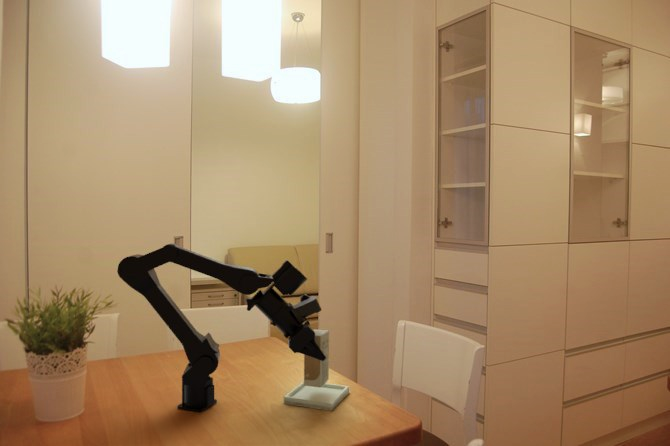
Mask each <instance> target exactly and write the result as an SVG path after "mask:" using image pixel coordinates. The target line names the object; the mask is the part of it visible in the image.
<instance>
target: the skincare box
mask: <svg viewBox="0 0 670 446" xmlns="http://www.w3.org/2000/svg"><path fill="white" fill-rule="evenodd" d="M312 329H313V328H312ZM313 330H314V332H315V342H316V343H317V345H318V346H319V348H320V349H321V351H322V352H323V354H324V355H325V357H326V359H325V360H324V361H321V360H319V359H316V358H313V357H310V356H307V355H304V354H303V357H304V359H303V366H304V367H303V368H304V369H303V370H304V371H303V381H304V386H312V387H319V388H320V387H322V386H323V385H324V384H325V383H328V380H329V379H330V377H329V375H330V374H329V373H330V372H329V371H330V367H329V365H330V364H329V363H330V360H329V358H330V331H329V330H326V329H325V330H324V329H313Z"/></svg>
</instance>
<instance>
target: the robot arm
mask: <svg viewBox="0 0 670 446" xmlns="http://www.w3.org/2000/svg"><path fill="white" fill-rule="evenodd" d="M168 263H173V264H175V265H177V266H181V267H184V268H186V269H190V270H192V271H194V272H197V273H200V274H203V275H205V276H207V277H208V276H209V277H210V278H214V279H216V280H219V281H220V282H222V283H223V284H225V285H227V286H228V287H230V288H231V289H233V290H234V291H236V292H238V293H239V294H242V295H244V296H250V295H252V294H254V295H253V296H252V297H246V299H245V300H246V303H247V304H246V306H247V307H246V310H247V311H249V312H250V311H251V310H252V309H253V308H254V307H256V308H257V309H258V310H259V311H260V312H261V313H262V314H263V315H264V316H265V317H266V318H267V319H268V320H269V321H270V322H271V325H272V326H274V327H276V328H277V329H278V330H279V331H280V332H281V333H282V335H283V336H284V338H285V339H287V345H288V348H289V349H290V351H292V352H293V353H294V354H298V353H299V354H301V355H303V356H304V355H307V356H310V357H313V358H316V359H319V360H321V361H324V360H325V359H326V357H325V355H324V354H323V352H322V351H321V349H320V348H319V346H318V345H317V343H316V342H315V332H314V330H313V328H312V327H311V326H310V325H311V324H310V321H309V320H308V318H307V317H310V316H312V315H314V314H318V313H319V312H321V311H322V307H321V305H320V303H319V300H318V298H317V297H316V296H315V295H311V296H309V295H307V294H306V293H304V294H302V295H300V298H299V299H300V300H299V302H297V303H296V304H292V303H291V302H287V301H286V300H285V299H284V297H285V296H288V295H289V296H292V295H294V293H295V292H296V291H297V290H298V289H299V288H300V287H301V286H302V285H303V284H304V283H305V282H306V281H307V280H308V278H307V277H306V276H305V275H304V274H303V273H302V272H301V271H300V270H299V269H298V268H297V267H295V266H294V265H293V264H292V263H291V262H290V261H289V260H288V259H285V261H284V262H282V265H281V266H280V267H279V268H277V269H276V271H275V272H273V274H268V273H260V272H258V271H257V270H256V269H255V268H252V267H247V266H242V265H238V264H229V263H225V262H222V261H219V260H217V259H213V258H212V257H208V256H206V255H203V254H201V253H197V252H195V251H192V250H189V249H187V248H185V247H181V246H180V245H178V244H176V243H168V244H165V245H164V246H163V247H160V248H158V249H156V250H153V251H151V252H148V253H146V254H144V255H143V254H133V255H130V256H126V257H124V258H123V259H122V260H121V261H119V263H118V265H117V271H116V272H117V275H118V277H119V278H120V279H121V280H122V281H123V282H124V283H125V284H127V285H128V286H129V287H130V288H131V289H133V290H134V291H135V292H137V293H139V294H141V296H143V297H144V298H145V299H146V301H147V302H148V303H149V305H151V307H152V309H153V310H154V311H155V312H156V314H157V315H158V316H159V317H160V318H161V319H162V321H163V322H164V323H165V325H166V326H167V328H169V330H170V331H171V332H172V333H173V335H174V336H175V337H176V339H177V340H178V341H179V343H180V344H181V345H182V347H183V350H184V353H185V355H186V359H187V360H188V363H187V365H186V366H185V369H184V371H183V373H182V375H181V403H179V404H178V405H177V406H176V407H177V409H180V410H181V409H182V410H186V411H193V412H198V413H199V412H203V411H204V410H206V409H208V408H209V407H211V406H213V405H214V404H216V403H218V400H217V398H216V399H215V384H214V377H211V376H210V375H211V374H213V373H214V372H215V371H216V370H217V369H218V366H219V363H220V358H221V351H220V349H219V347H220V344H219V343H217V342H216V341H215V340H214V339H213V337H212V334H211V333H210V332H207V333H206V334H205V335H204V334H202V333H201V332H199V331H197V329H196V328H195V327H194V325H193V324H192V323H191V322H190V320H189V319H188V318H187V316H186V315H185V314H184V313H183V311H182V310H181V309H180V307H179V306H178V305H177V304H176V303H175V301H174V300H173V299H172V297H171V296H170V294H169V293H167V291H166V289H164V287H163V286H162V284H161V283H160V279H159V278H158V274H157V271H156V270H155V269H157V268H159V267H160V266H163V265H165V264H168ZM263 288H264V290H262V289H263ZM265 288H266V289H265ZM274 288H276V290H277V291H278V292H280V294H282V295H283V297H282V296H281V295H280V294H279V293H278V292H277V291H276V290H275V289H274Z"/></svg>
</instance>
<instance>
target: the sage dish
mask: <svg viewBox="0 0 670 446" xmlns="http://www.w3.org/2000/svg"><path fill="white" fill-rule="evenodd" d="M349 393H350V386H349V385H342V384H335V383H328V382H326V383H325V384H324V385H323V386H322V387H320V388H319V387H312V386H304V380H303V381H302V382H301V383H299V384H298V385H297V386H296V387H294V388H293V389H292V390H291V391H289V392H288V393H287V394H285V395H283V404H284V405H291V406H297V407H304V408H311V409H316V410H322V411H323V410H324V411H329V412H332V411H333V410H334V409H336V408H337V406H338V405H339V404H340V403H341V402H342V401H343V400H344V399H345V397H347V395H348V394H349Z"/></svg>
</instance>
